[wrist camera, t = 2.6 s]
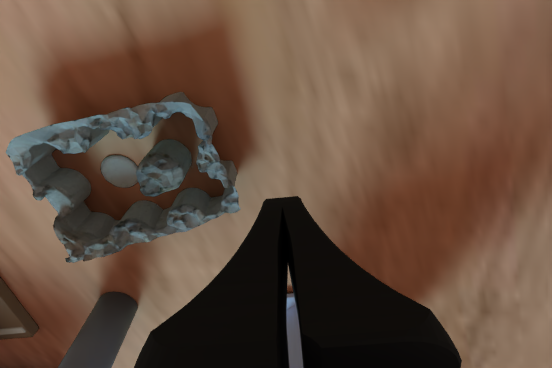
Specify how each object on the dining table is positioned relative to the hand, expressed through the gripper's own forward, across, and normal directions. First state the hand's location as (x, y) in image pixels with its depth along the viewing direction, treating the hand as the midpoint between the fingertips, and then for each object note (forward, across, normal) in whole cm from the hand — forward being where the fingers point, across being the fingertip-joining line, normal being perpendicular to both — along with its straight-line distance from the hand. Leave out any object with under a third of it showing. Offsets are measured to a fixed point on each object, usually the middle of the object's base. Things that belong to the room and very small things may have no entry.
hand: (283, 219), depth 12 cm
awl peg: (+7, +14, +12) cm, 20 cm away
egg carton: (+7, +8, 0) cm, 11 cm away
